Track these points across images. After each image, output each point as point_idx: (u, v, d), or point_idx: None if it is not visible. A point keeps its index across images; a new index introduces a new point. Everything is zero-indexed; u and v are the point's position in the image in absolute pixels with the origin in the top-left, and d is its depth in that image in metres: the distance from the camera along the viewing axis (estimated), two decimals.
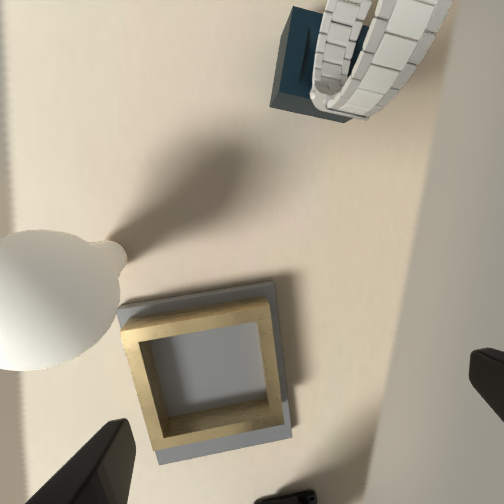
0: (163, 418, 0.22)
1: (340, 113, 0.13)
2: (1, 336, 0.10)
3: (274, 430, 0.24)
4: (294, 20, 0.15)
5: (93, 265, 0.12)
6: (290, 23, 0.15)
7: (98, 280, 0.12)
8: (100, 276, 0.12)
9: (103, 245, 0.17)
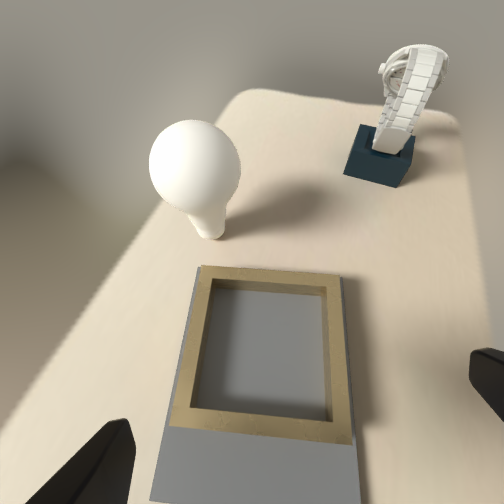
0: (195, 391, 0.17)
1: (393, 128, 0.22)
2: (190, 133, 0.16)
3: (332, 496, 0.15)
4: (361, 128, 0.28)
5: None
6: (358, 129, 0.28)
7: (237, 155, 0.18)
8: (238, 156, 0.18)
9: None
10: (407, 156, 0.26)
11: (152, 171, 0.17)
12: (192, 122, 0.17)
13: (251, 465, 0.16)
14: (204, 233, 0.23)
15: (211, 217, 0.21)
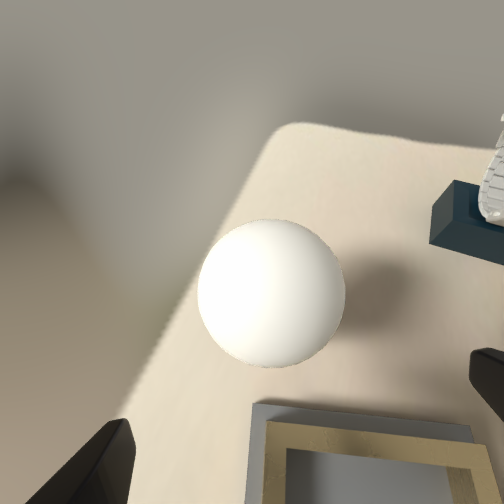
0: None
1: None
2: (281, 261, 0.09)
3: None
4: (456, 185, 0.21)
5: None
6: (453, 187, 0.21)
7: None
8: None
9: None
10: None
11: (207, 315, 0.10)
12: (279, 234, 0.10)
13: None
14: None
15: None
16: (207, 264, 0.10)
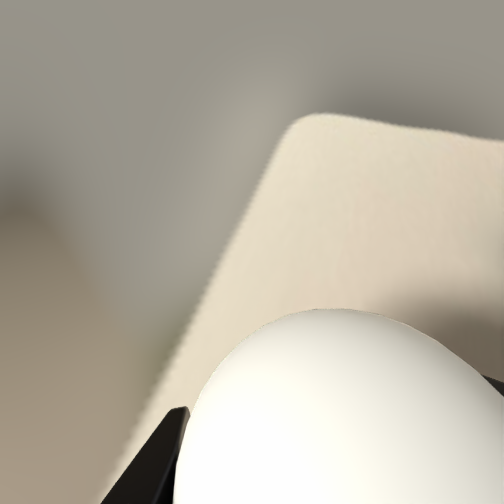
0: None
1: None
2: None
3: None
4: None
5: None
6: None
7: None
8: None
9: None
10: None
11: None
12: (420, 423, 0.03)
13: None
14: None
15: None
16: (195, 469, 0.04)
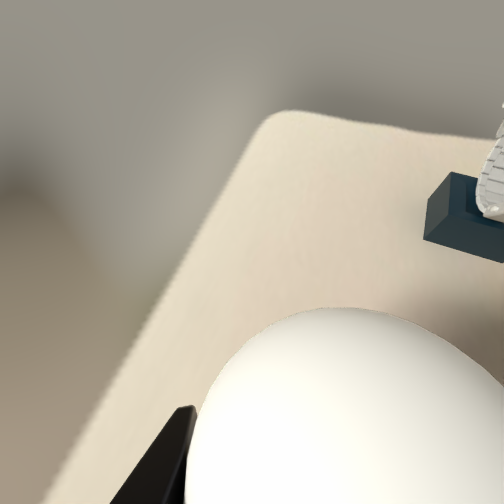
0: None
1: None
2: None
3: None
4: (453, 178, 0.20)
5: None
6: (450, 179, 0.20)
7: None
8: None
9: None
10: None
11: None
12: (438, 419, 0.03)
13: None
14: None
15: None
16: (210, 466, 0.04)
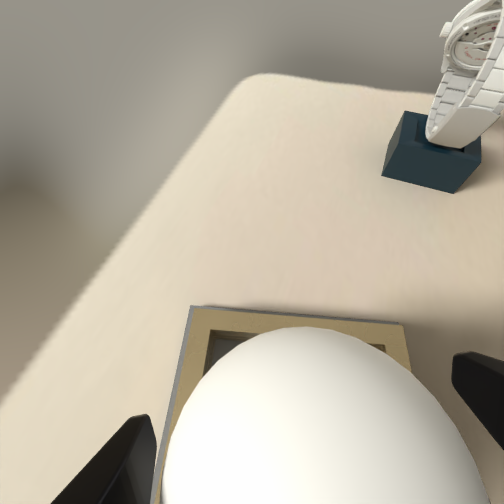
0: None
1: (473, 108, 0.15)
2: None
3: None
4: (406, 115, 0.21)
5: None
6: (403, 117, 0.22)
7: None
8: None
9: None
10: (474, 151, 0.19)
11: None
12: (346, 435, 0.04)
13: None
14: None
15: None
16: (172, 477, 0.04)
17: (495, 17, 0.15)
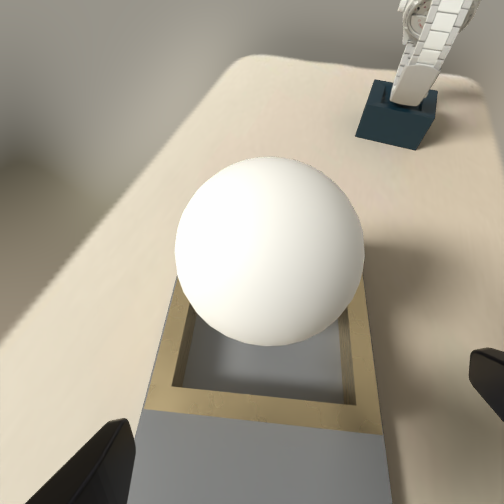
0: (180, 368, 0.14)
1: (418, 65, 0.18)
2: (282, 197, 0.07)
3: (356, 502, 0.12)
4: (375, 83, 0.25)
5: None
6: (373, 84, 0.25)
7: None
8: None
9: None
10: (430, 110, 0.23)
11: (186, 278, 0.07)
12: (278, 167, 0.07)
13: (250, 462, 0.13)
14: None
15: None
16: (184, 214, 0.08)
17: None
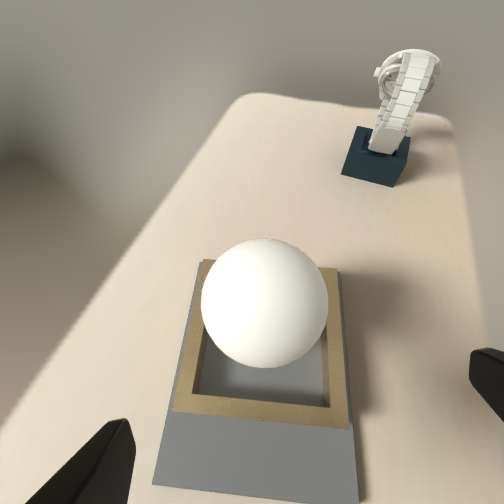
0: (197, 379, 0.18)
1: (388, 128, 0.22)
2: (272, 279, 0.11)
3: (330, 480, 0.16)
4: (358, 129, 0.29)
5: None
6: None
7: (325, 284, 0.13)
8: None
9: None
10: (402, 156, 0.27)
11: (211, 325, 0.12)
12: (270, 255, 0.11)
13: (251, 450, 0.17)
14: None
15: None
16: (209, 281, 0.12)
17: None
